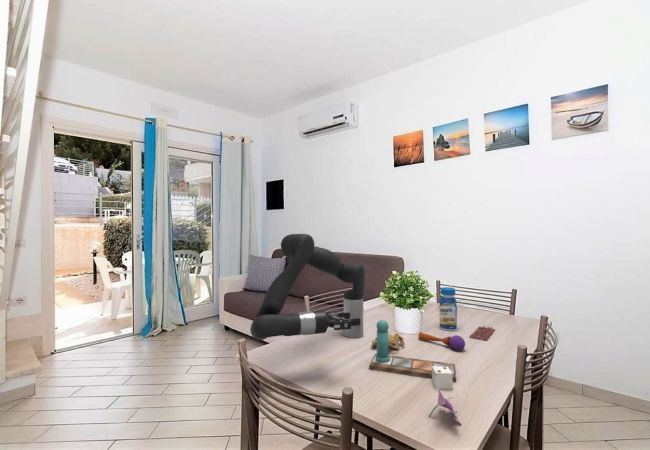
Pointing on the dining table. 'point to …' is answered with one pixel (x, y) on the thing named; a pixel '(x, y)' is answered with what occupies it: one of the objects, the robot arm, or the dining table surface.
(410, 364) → the board
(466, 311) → the dining table surface
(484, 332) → the chocolate bar
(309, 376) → the dining table surface
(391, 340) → the crab model
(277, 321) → the robot arm
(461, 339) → the kendama
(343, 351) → the dining table surface
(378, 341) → the pawn
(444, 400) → the lily
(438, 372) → the die
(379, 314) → the dining table surface
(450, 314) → the beverage bottle
